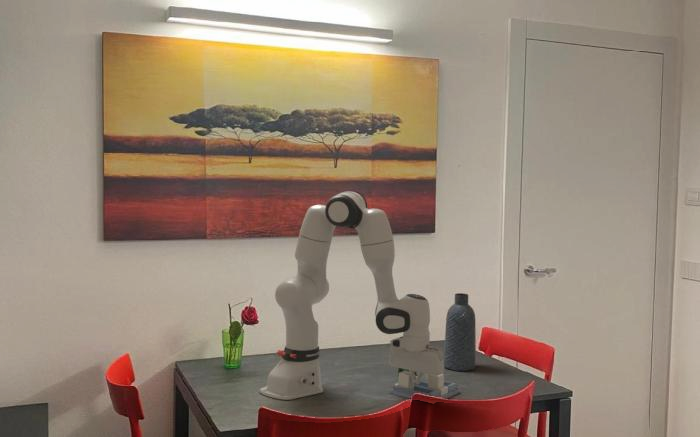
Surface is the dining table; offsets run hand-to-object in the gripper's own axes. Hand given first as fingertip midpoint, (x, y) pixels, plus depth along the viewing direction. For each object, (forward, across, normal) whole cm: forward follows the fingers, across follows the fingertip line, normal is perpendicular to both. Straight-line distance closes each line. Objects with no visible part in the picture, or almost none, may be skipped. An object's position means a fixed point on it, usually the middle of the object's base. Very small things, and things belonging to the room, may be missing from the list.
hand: (415, 383), depth 260 cm
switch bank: (+4, 0, -6) cm, 7 cm away
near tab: (+3, +4, 0) cm, 5 cm away
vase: (+5, +9, -42) cm, 43 cm away
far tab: (+3, +4, -11) cm, 12 cm away
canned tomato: (+4, +15, -18) cm, 24 cm away
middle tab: (+3, -4, -6) cm, 8 cm away
